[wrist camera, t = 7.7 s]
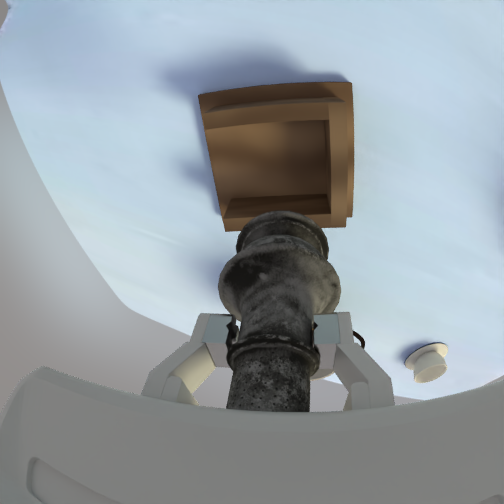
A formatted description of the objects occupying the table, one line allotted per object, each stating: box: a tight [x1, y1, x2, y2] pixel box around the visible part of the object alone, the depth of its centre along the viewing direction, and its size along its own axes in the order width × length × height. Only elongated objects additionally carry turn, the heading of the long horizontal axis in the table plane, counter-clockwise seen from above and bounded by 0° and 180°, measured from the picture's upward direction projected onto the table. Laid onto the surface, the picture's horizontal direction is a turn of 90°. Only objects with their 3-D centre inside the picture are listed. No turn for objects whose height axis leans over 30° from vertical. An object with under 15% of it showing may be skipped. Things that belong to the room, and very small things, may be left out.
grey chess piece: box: [218, 211, 341, 412], centre depth 11 cm, size 6×6×12 cm
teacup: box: [405, 343, 448, 383], centre depth 46 cm, size 10×10×5 cm
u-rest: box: [198, 82, 354, 232], centre depth 26 cm, size 15×15×6 cm
